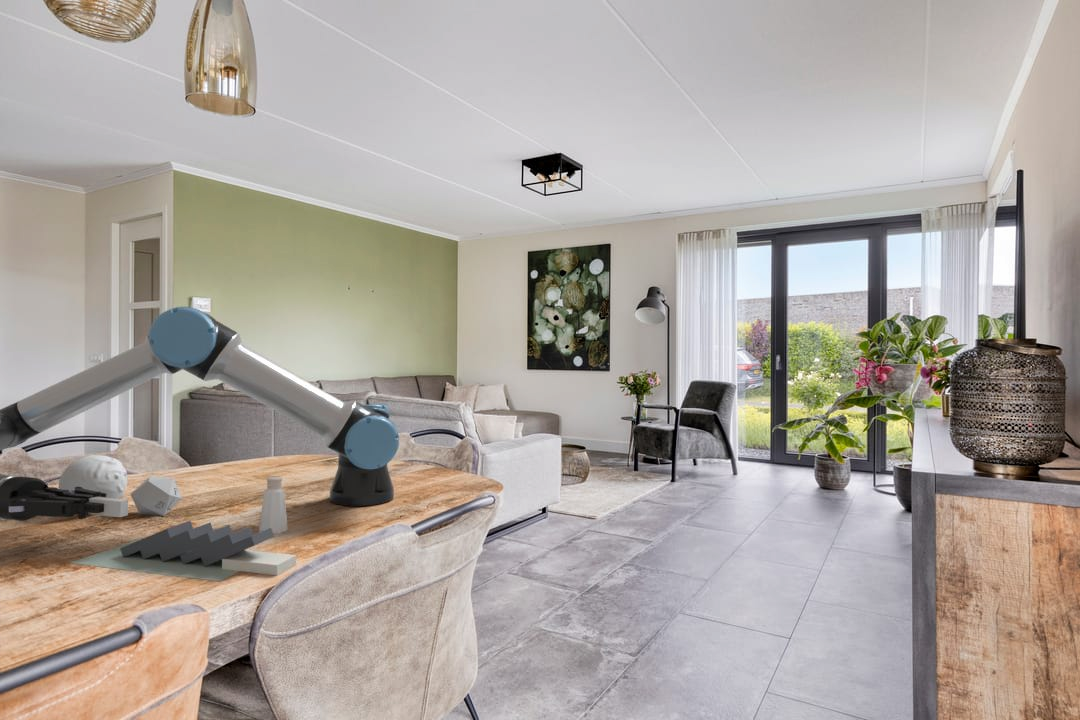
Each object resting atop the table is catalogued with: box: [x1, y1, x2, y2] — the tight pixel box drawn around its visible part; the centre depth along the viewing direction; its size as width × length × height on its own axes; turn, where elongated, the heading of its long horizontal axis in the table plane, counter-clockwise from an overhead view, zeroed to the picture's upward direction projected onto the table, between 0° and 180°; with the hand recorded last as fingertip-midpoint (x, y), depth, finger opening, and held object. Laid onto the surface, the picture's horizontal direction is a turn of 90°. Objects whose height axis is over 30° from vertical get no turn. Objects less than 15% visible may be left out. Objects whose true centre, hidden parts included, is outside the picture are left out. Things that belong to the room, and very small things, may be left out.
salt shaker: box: [258, 475, 288, 535], centre depth 120 cm, size 5×5×11 cm
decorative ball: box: [58, 454, 128, 499], centre depth 131 cm, size 12×12×12 cm
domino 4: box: [180, 525, 254, 564], centre depth 101 cm, size 2×5×10 cm
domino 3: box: [159, 524, 233, 562], centre depth 102 cm, size 2×5×10 cm
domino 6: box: [222, 549, 297, 576], centre depth 99 cm, size 2×5×10 cm
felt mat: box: [70, 537, 277, 582], centre depth 103 cm, size 28×14×1 cm, turn 78°
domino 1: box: [120, 520, 194, 557], centre depth 103 cm, size 2×5×10 cm
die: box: [130, 476, 183, 517], centre depth 131 cm, size 8×9×10 cm
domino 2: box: [140, 522, 214, 559], centre depth 103 cm, size 2×5×10 cm
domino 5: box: [201, 528, 275, 566], centre depth 100 cm, size 2×5×10 cm
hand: (124, 508), depth 104 cm, fingers closed
